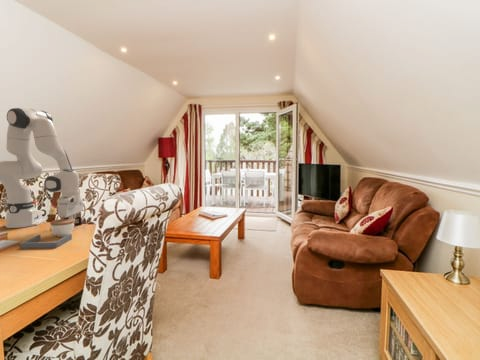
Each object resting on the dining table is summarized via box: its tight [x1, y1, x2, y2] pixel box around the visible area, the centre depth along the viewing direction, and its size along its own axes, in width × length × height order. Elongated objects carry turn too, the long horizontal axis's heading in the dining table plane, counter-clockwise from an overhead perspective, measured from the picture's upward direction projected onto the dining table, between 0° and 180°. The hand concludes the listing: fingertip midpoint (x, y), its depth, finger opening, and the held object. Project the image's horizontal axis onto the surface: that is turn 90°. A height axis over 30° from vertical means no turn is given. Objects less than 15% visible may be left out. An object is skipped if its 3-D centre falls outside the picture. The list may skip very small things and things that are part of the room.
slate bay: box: [19, 233, 73, 250], centre depth 134 cm, size 14×16×2 cm
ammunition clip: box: [64, 211, 83, 227], centre depth 168 cm, size 11×2×12 cm, turn 116°
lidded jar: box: [50, 218, 75, 238], centre depth 148 cm, size 11×11×9 cm
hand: (72, 222), depth 157 cm, fingers closed
